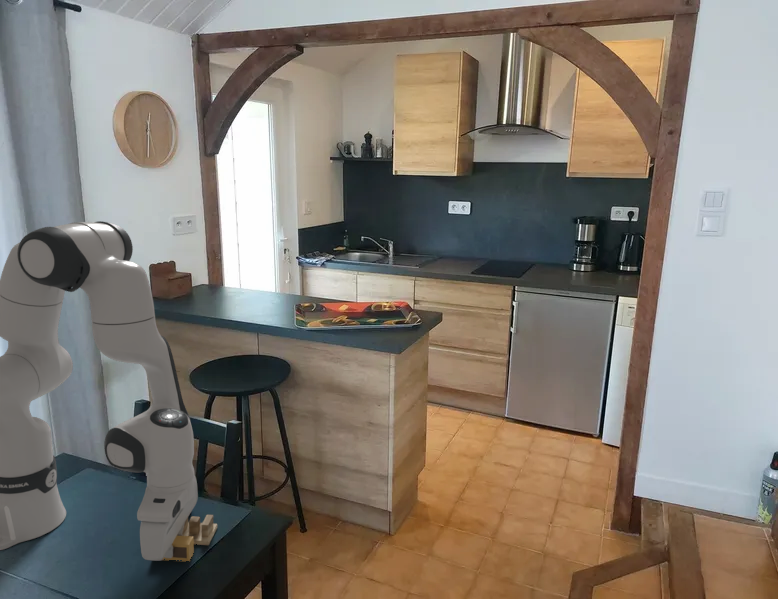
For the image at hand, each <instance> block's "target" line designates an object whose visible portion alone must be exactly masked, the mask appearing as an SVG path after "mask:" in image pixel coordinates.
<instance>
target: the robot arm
mask: <svg viewBox="0 0 778 599" xmlns="http://www.w3.org/2000/svg"><path fill="white" fill-rule="evenodd" d="M133 248H134V247H133V242H132V239H131V237H130V235H129V233H128V232H127V231H126V230H125V229H124V228H122V227H121V226H119V225H117V224H115V223H112V222H108V221H94V222H93V221H77V222H75V221H74V222H70V223H66V224H60V225H56V226H55V225H54V226H45V227H41V228H37V229H35V230H33V231H31V232H29V233H27V234H26V235H25V236H24V237H23V238H21V240H20V242H18V243H16V244H15V245H13V247H12V248H11V249H10V251H9V254H8V256H7V258H6V261H5V263H4V265H3V269H2V271H1V276H0V338H1V339H4V341H7V348H6V349H7V350H6V351H5V352H4V354H3V355H1V356H0V551H3V550H5V549H9V548H11V547H12V546H13V547H14V546H15V545H17V544H20V543H23V542H26V541H30V540H31V541H32V540H34V539H36V538H39V537H42V536H44V535H45V534H47V533H48V534H49V533H50V532H52V531H53V530H54V529H56V528H57V527H59V526H60V525H61V524H62V523H63V522H64V520H65V519H66V517H67V510H66V508H65V506H64V504H63V501H62V498H61V496H60V492H59V488H58V485H57V484H58V483H57V482H58V468H57V461H56V456H55V455H54V448H53V437H52V429H51V426H50V424H49V423H48V422H47V421H45V420H44V419H41V418H39V417H37V416H36V417H35V416H33V415H32V412H31V409H30V406H31V402H32V401H35V400H36V399H39V398H41V397H42V396H44V395H47V394H49V393H52V392H53V391H54V390H56V389H57V388H58V387H60V385H62V384H63V383H65V381H67V380H68V379H69V378H70V376H71V375H72V373H73V369H74V368H73V367H74V365H73V364H74V363H73V359H72V357H71V355H70V353H69V352H68V350H67V349H66V348H64V347H63V346H62V345H61V344H60V342H59V335H58V334H59V333H58V332H59V324H60V318H61V313H62V307H63V301H64V299H65V292H68V293H69V292H70V293H73V292H75V291H77V290H79V289H82V290H83V291H84V293H85V294H86V295H87V297H88V299H89V304H90V316H91V326H92V336H93V340H94V343H95V346H96V348H97V349H98V351H99V352H100V353H101V354H102V355H103V356H105V357H106V358H108V359H110V360H113V361H116V362H118V363H124V364H125V363H126V364H136V365H140V366H142V368H144V370H145V373H146V377H147V381H148V386H149V389H150V395H151V398H152V402H151V405H150V406H149V408H148V409H147V410H145V411H143V412H142V413H140V414H138V415H136V416H133V417H130V418H128V419H126V420H125V421H122V422H120V423H119V424H117V425H115V426H113V427H112V428H110V429H109V430H108V431H107V433H106V435H105V438H104V443H103V446H104V447H103V448H104V449H103V450H104V454H105V457H106V460H107V462H108V463H109V464H110V466H112V467H114V468H115V469H117V470H119V471H120V470H121V471H125V472H130V473H137V474H138V473H145V474H146V488H145V491H144V495H143V497H142V500H141V502H140V504H139V507H138V510H137V512H136V518H137V521H140V526H139V543H140V553H141V557H142V558H143V559H144V560H146V561H153V562H154V561H156V562H157V561H159V562H160V561H163V560H162V559H163V558H164V557H165V558H172V556H173V555H174V553H175V546H172V543H173V541H174V539H175V538H176V536H182V533H183V529H184V524H185V521H186V519H187V518H188V519H189V516H190V514H191V513H192V512H191V511H193V509H194V508H195V506H196V504H197V502H198V497H199V494H198V483H197V477H196V476H195V468H194V466H193V460H194V455H195V441H194V440H195V439H194V438H195V437H194V431H193V427H192V423H191V418H190V415H189V412H188V410H187V408H186V406H185V403H184V399H183V396H182V392H181V391H182V390H181V388H180V382H179V378H178V374H177V373H178V372H177V369H176V364H175V361H174V360H175V359H174V356H173V353H172V349H171V346H170V344H169V342H168V340H167V339H166V338H165V337H164V336H163V335H161V333H160V332H159V329H158V327H157V322H156V313H155V312H156V311H155V304H154V298H153V293H152V289H151V285H150V281H149V277H148V275H147V273H146V269H144V267H143V266H142V265H140V264H139V263H137V262H135V261H131V259H132V255H133V250H134V249H133Z"/></svg>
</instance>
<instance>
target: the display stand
mask: <svg viewBox="0 0 778 599" xmlns="http://www.w3.org/2000/svg"><path fill="white" fill-rule="evenodd" d="M217 529H218V523H214V514H206V515H205V517H204V520H202V522H201V516H195V515H194V516H191V517H190V518H189V517H188V518H187V519H186V521H185V524H184V529H183V533H182V536H194V545H196V544H197V545H198V546H200V545H201V546H209V545H210V543H211V541H212V539H213V537H214V535H215V533H216V532H217Z"/></svg>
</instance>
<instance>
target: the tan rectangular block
mask: <svg viewBox="0 0 778 599" xmlns="http://www.w3.org/2000/svg"><path fill="white" fill-rule="evenodd" d="M172 546H175V553H174V555H173V556H172V558H165V557H164V558H163V559H162V560H161V561H169V560H176V561H175V562H186V561H189V562H191V560H190V559H192V558H193V555H194V554H193V553H195V548H194V547H195V544H194V536H176V538H175V539H174V541H173V543H172ZM191 557H192V558H191ZM164 559H165V560H164ZM177 560H179V561H177ZM180 560H182V561H180Z"/></svg>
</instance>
